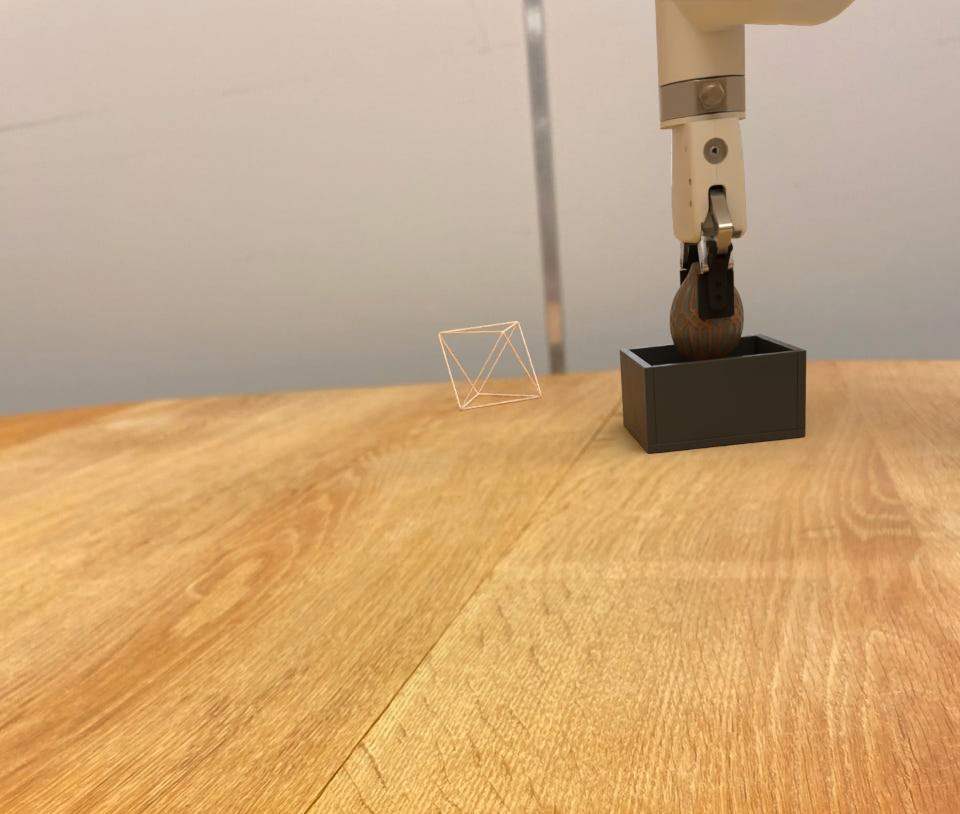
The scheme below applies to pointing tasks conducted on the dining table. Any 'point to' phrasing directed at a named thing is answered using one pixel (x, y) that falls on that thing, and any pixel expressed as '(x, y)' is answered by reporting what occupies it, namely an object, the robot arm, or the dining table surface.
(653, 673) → the dining table surface
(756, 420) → the bin
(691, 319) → the vase
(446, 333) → the geometric polyhedron
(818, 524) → the dining table surface
